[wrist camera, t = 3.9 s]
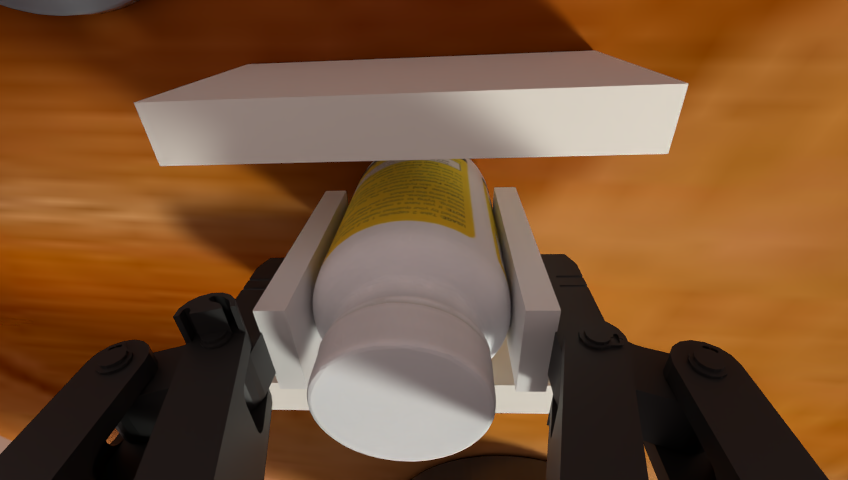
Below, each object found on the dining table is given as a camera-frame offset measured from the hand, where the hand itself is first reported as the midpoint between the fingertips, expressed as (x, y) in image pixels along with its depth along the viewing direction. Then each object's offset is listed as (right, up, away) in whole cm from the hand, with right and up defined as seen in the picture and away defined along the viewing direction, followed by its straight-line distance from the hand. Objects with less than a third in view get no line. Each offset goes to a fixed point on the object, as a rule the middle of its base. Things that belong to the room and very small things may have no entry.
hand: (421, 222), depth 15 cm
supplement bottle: (0, +1, +2) cm, 2 cm away
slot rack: (0, +1, +2) cm, 2 cm away
